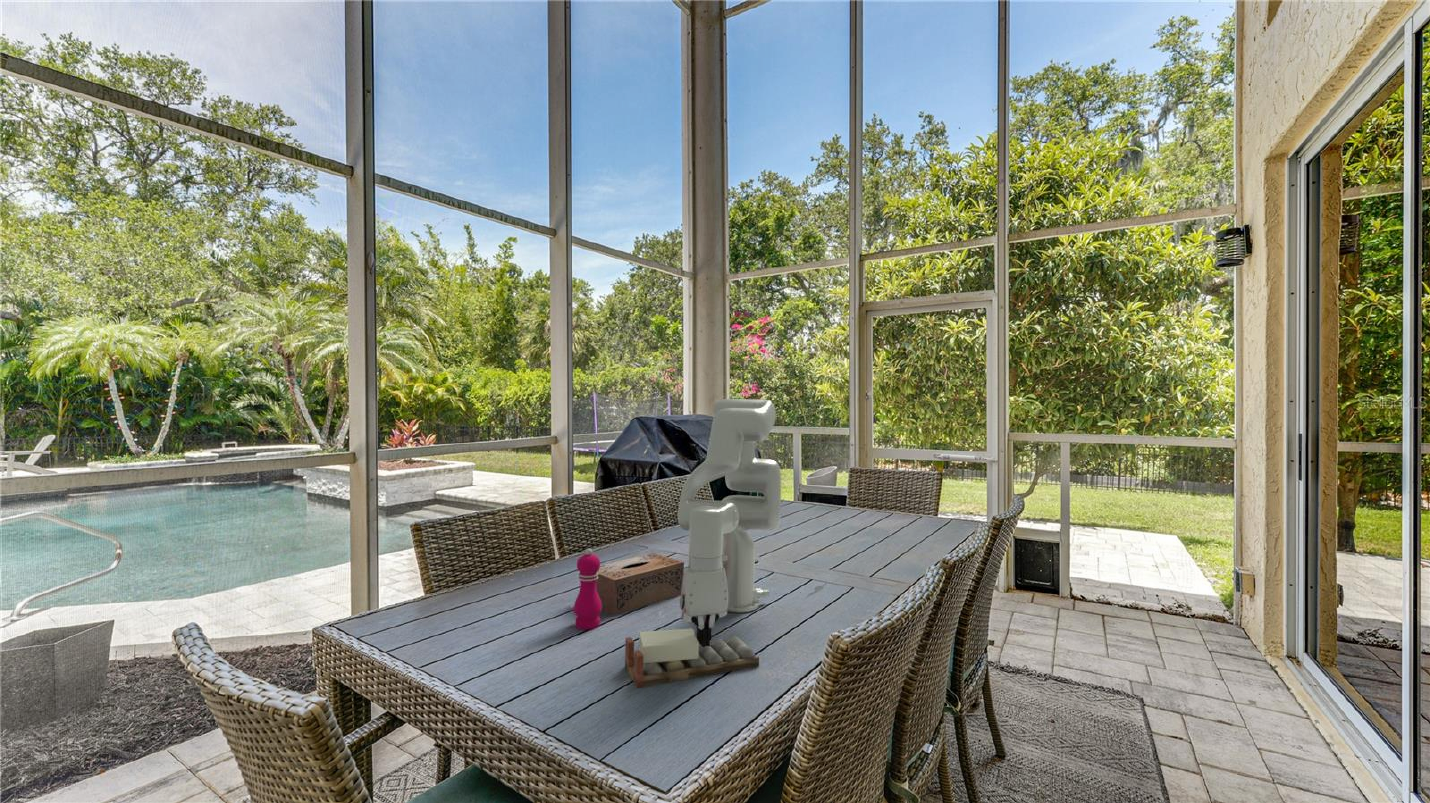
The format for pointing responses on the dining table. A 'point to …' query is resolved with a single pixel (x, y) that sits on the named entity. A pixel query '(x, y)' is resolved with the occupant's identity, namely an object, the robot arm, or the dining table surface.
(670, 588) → the tissue box cover
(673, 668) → the roller
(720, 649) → the track
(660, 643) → the slab
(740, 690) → the dining table surface
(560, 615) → the dining table surface
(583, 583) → the pepper mill
